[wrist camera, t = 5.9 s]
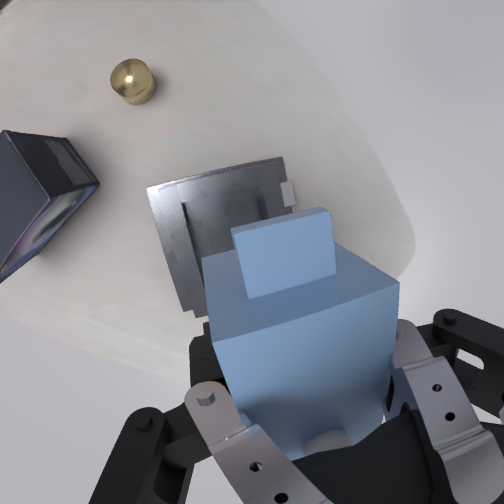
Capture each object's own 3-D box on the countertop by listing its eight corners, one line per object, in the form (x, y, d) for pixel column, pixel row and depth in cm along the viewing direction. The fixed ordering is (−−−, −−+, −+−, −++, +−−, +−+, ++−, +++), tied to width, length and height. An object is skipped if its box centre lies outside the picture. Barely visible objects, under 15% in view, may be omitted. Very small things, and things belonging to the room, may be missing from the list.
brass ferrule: (120, 79, 20) (108, 65, 16) (152, 69, 20) (146, 54, 16) (124, 108, 21) (113, 99, 17) (157, 99, 21) (151, 87, 17)
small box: (38, 259, 23) (-19, 306, 13) (4, 212, 20) (-62, 239, 10) (104, 186, 22) (51, 202, 12) (65, 134, 20) (0, 124, 10)
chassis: (147, 187, 23) (141, 190, 21) (280, 156, 25) (290, 156, 22) (183, 309, 27) (183, 323, 25) (300, 277, 29) (310, 288, 26)
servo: (190, 214, 10) (187, 290, 4) (306, 187, 11) (429, 223, 5) (248, 407, 14) (279, 511, 8) (327, 382, 14) (383, 471, 8)
